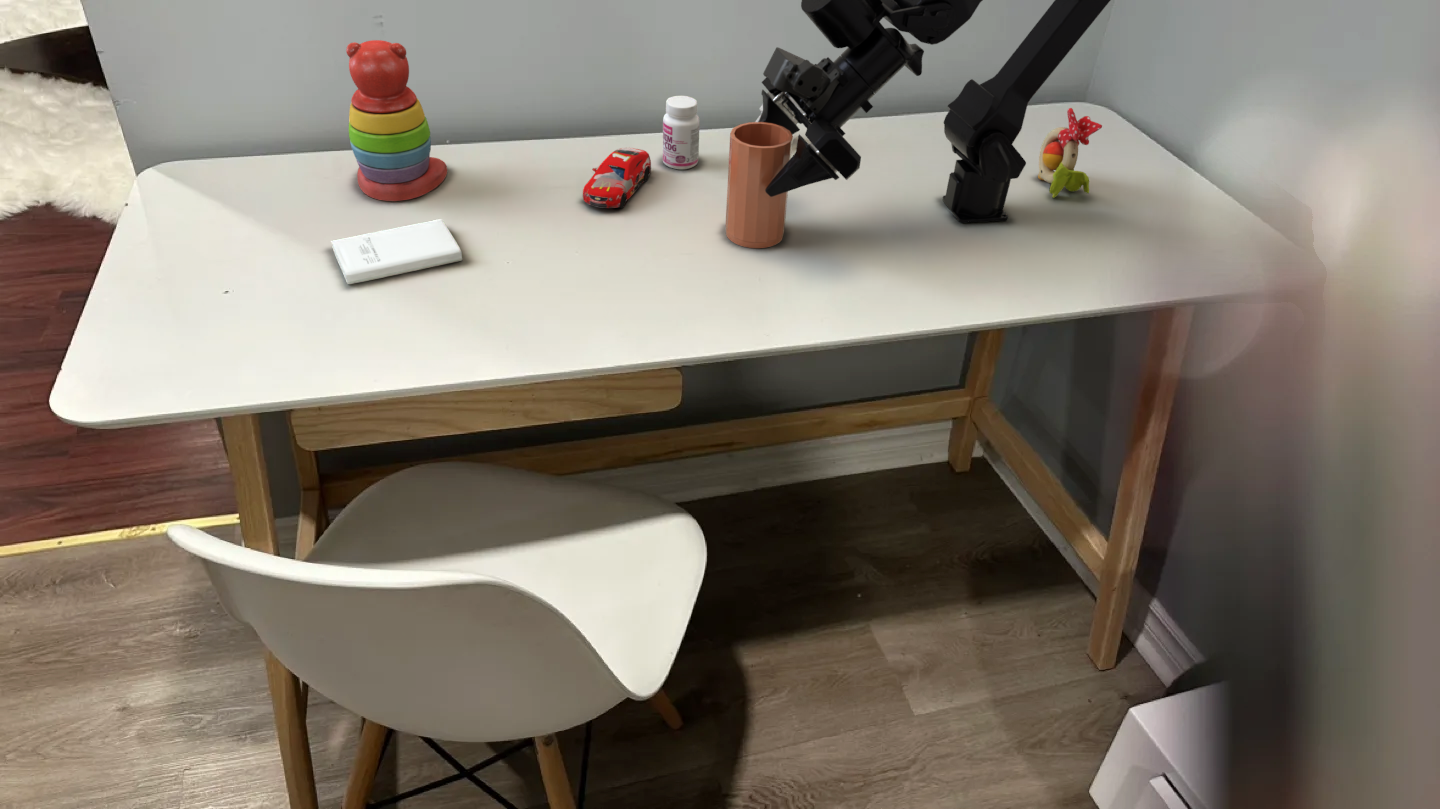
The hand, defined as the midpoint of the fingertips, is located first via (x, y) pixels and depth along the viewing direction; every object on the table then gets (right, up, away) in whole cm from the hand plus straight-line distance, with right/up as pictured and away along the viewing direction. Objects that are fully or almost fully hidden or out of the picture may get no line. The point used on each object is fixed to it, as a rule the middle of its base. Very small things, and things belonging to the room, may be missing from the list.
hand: (755, 175), depth 114 cm
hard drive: (-40, -10, -2) cm, 41 cm away
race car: (-17, +1, +12) cm, 21 cm away
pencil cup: (0, -6, +5) cm, 8 cm away
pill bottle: (-9, +6, +19) cm, 22 cm away
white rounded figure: (+4, +10, +25) cm, 27 cm away
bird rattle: (+40, +2, +18) cm, 44 cm away
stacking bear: (-44, +1, +11) cm, 46 cm away
